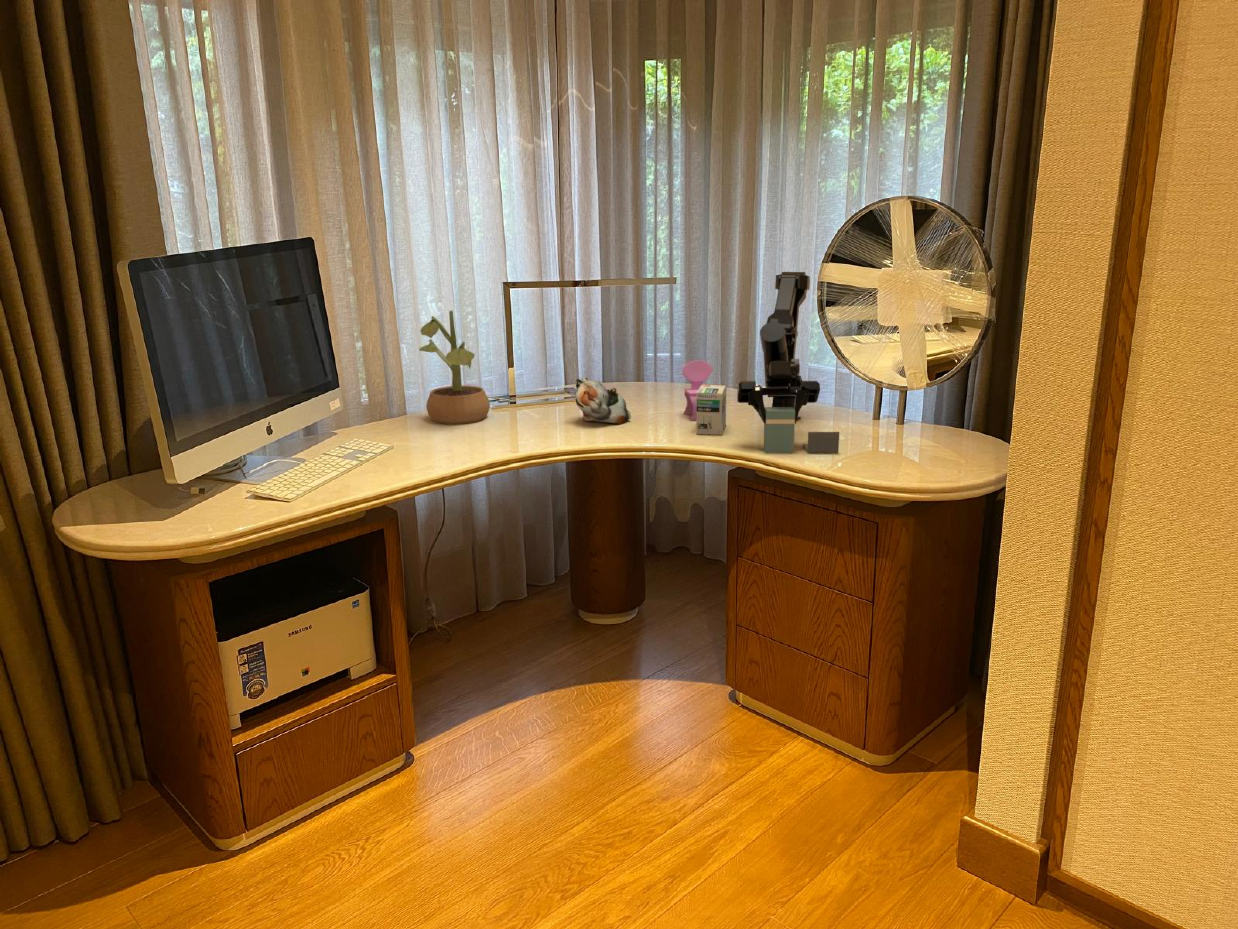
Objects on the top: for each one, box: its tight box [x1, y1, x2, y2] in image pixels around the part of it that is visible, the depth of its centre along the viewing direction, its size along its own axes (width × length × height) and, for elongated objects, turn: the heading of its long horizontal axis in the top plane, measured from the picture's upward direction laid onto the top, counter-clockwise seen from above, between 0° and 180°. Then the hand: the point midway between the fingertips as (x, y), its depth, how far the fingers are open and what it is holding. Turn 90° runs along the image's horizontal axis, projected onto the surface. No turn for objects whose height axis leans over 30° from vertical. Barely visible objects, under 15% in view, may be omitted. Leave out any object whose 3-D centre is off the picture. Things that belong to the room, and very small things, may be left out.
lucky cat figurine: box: [575, 377, 632, 425], centre depth 244 cm, size 15×12×14 cm
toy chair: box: [681, 359, 713, 422], centre depth 247 cm, size 8×9×15 cm
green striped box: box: [762, 406, 796, 454], centre depth 214 cm, size 4×6×10 cm, turn 87°
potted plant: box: [418, 309, 491, 425], centre depth 244 cm, size 22×18×30 cm
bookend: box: [802, 431, 840, 455], centre depth 216 cm, size 7×7×5 cm
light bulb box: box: [695, 384, 727, 436], centre depth 234 cm, size 11×7×11 cm, turn 168°
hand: (780, 422), depth 212 cm, fingers closed on green striped box, 6 cm apart
